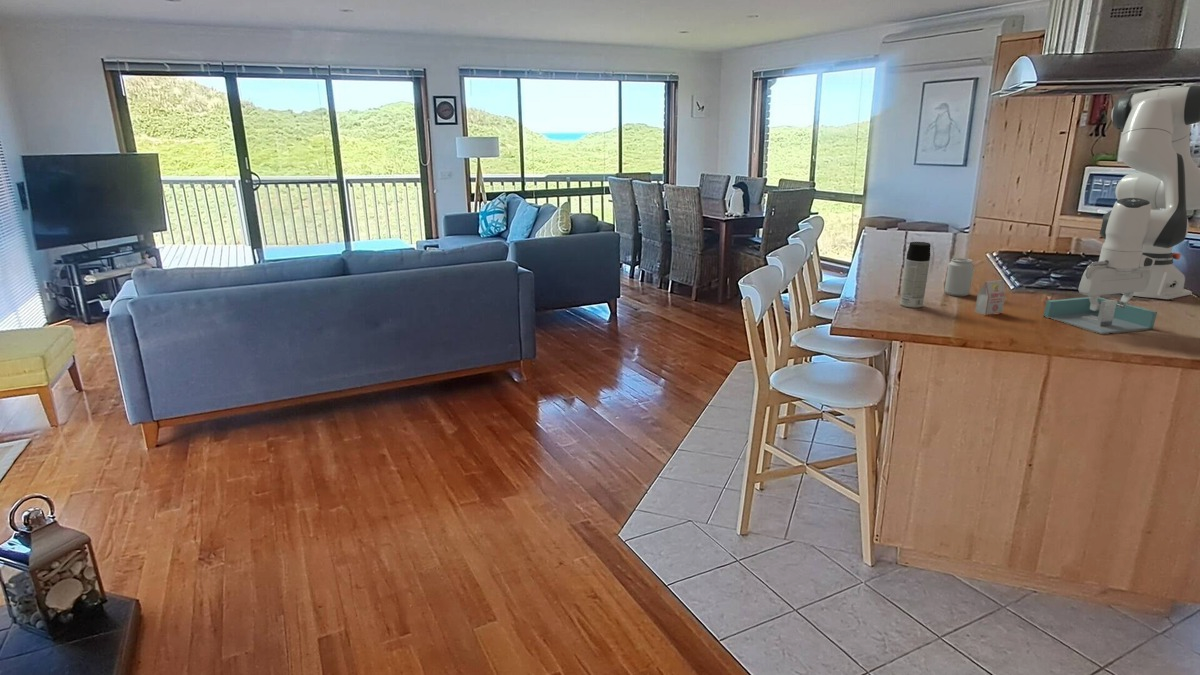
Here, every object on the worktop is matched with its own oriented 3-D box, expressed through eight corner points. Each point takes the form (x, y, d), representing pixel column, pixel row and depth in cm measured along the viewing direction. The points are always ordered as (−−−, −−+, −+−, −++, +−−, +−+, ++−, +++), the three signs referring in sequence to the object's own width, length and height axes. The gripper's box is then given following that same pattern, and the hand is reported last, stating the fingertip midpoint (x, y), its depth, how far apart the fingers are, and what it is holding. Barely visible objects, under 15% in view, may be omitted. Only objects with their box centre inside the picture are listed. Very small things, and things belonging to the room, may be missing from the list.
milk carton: (974, 312, 198) (979, 280, 195) (991, 310, 200) (997, 278, 197) (984, 316, 195) (990, 283, 192) (1001, 313, 197) (1007, 281, 194)
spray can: (922, 304, 209) (931, 242, 202) (923, 309, 203) (932, 245, 197) (900, 302, 211) (908, 240, 205) (899, 307, 205) (908, 244, 199)
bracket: (1111, 325, 182) (1117, 300, 180) (1100, 326, 181) (1105, 302, 179) (1091, 319, 188) (1096, 295, 186) (1080, 320, 187) (1085, 296, 185)
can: (972, 297, 215) (978, 261, 212) (947, 296, 217) (953, 261, 213) (965, 292, 222) (970, 257, 219) (941, 291, 224) (946, 256, 220)
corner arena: (1091, 312, 197) (1095, 296, 195) (1152, 329, 180) (1157, 311, 179) (1043, 317, 193) (1046, 300, 191) (1100, 334, 176) (1105, 317, 175)
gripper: (1100, 264, 171) (1088, 314, 176) (1160, 259, 176) (1147, 308, 180) (1078, 259, 177) (1067, 308, 181) (1137, 255, 182) (1125, 303, 186)
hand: (1108, 308), depth 181 cm, fingers open, 8 cm apart
